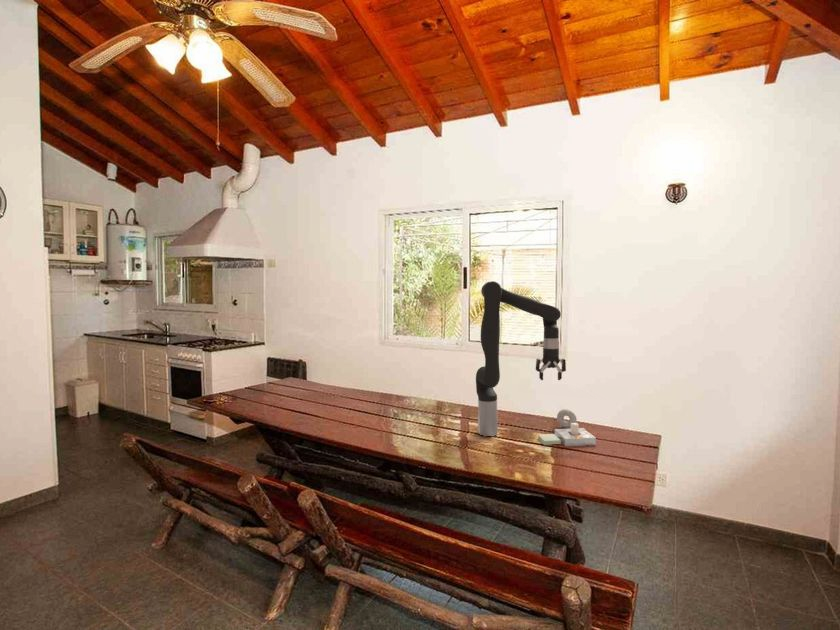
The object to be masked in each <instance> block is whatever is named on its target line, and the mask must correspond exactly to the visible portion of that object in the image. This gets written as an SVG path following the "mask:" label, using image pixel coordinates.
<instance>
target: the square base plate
mask: <svg viewBox="0 0 840 630" xmlns="http://www.w3.org/2000/svg"><path fill="white" fill-rule="evenodd" d="M537 438H538V440H539V441H540V442H541V443H542V445H544V446H550V445H549V444H561V445H562V443H561V440H560V439H559V438H558V437H557V436H556V435H555V433H545V434H543V433H542V434H538V436H537ZM546 444H547V445H546Z"/></svg>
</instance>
